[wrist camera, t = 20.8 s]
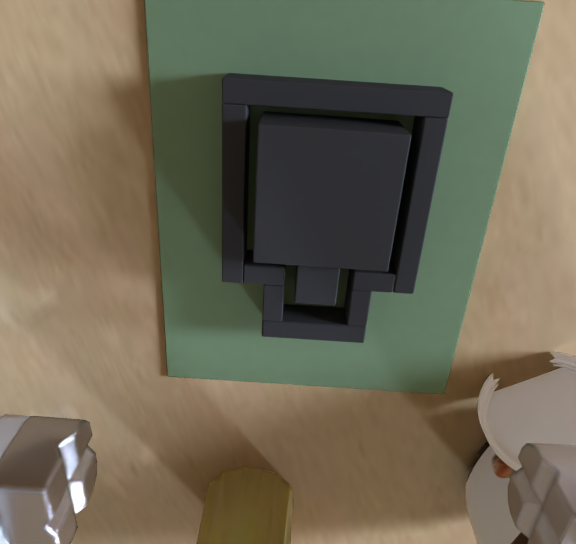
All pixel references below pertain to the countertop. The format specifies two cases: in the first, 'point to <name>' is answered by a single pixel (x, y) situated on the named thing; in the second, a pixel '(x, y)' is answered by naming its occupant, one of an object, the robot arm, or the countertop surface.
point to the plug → (327, 196)
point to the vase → (247, 508)
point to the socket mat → (331, 102)
